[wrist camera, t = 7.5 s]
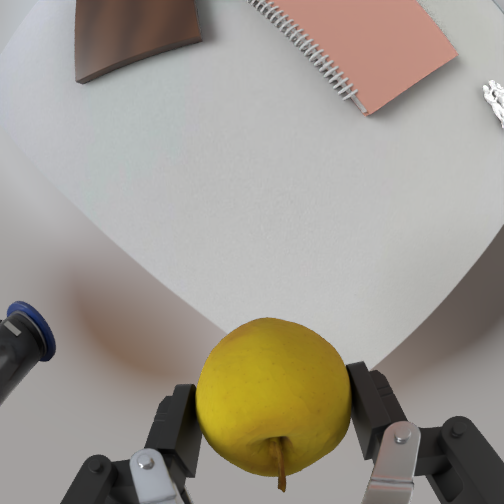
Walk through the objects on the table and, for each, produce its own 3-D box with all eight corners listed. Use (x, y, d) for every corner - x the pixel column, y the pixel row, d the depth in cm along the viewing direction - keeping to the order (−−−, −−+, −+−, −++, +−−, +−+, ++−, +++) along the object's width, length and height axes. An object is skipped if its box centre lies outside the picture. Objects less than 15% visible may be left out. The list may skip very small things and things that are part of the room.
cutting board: (82, 84, 23) (75, 82, 22) (82, -2, 19) (76, -6, 18) (202, 41, 22) (199, 36, 21) (188, -43, 18) (185, -50, 17)
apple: (272, 400, 16) (277, 516, 8) (185, 345, 15) (143, 469, 7) (353, 335, 14) (408, 453, 7) (266, 261, 13) (278, 386, 6)
